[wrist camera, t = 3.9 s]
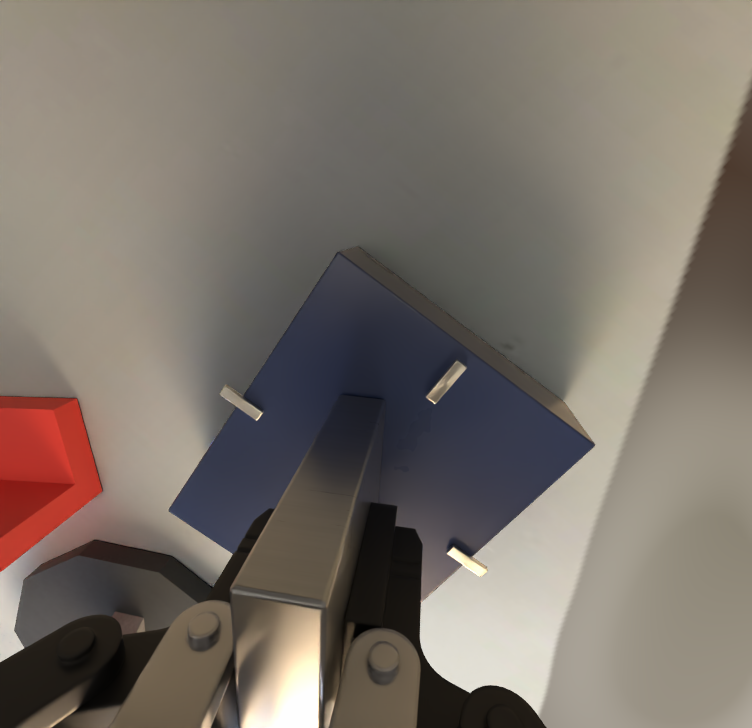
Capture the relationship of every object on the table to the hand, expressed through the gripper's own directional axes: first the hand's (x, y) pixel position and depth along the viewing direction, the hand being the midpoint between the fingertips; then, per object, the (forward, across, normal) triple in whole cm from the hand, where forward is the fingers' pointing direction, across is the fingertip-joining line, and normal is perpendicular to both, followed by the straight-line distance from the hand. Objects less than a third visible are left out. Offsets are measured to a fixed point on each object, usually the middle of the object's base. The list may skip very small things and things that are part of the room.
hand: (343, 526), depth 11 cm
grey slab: (+2, 0, 0) cm, 2 cm away
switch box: (+5, 0, 0) cm, 5 cm away
